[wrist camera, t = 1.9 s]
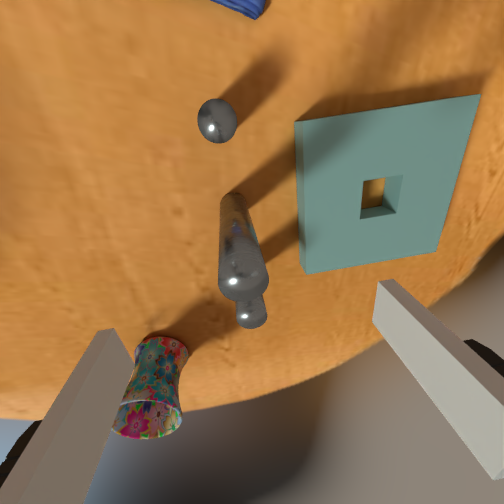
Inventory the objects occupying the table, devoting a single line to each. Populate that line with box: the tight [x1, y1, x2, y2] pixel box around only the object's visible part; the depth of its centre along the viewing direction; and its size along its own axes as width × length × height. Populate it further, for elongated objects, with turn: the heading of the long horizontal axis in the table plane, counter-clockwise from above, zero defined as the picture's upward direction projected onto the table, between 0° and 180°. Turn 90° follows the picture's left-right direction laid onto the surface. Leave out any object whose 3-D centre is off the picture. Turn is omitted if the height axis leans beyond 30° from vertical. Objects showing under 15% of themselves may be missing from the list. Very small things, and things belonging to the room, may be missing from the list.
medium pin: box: [235, 295, 267, 329], centre depth 29 cm, size 3×3×10 cm
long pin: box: [218, 193, 269, 302], centre depth 22 cm, size 3×3×16 cm
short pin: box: [198, 99, 237, 143], centre depth 22 cm, size 3×3×6 cm
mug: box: [111, 337, 189, 439], centre depth 34 cm, size 12×9×11 cm
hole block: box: [294, 94, 481, 275], centre depth 28 cm, size 18×18×3 cm
